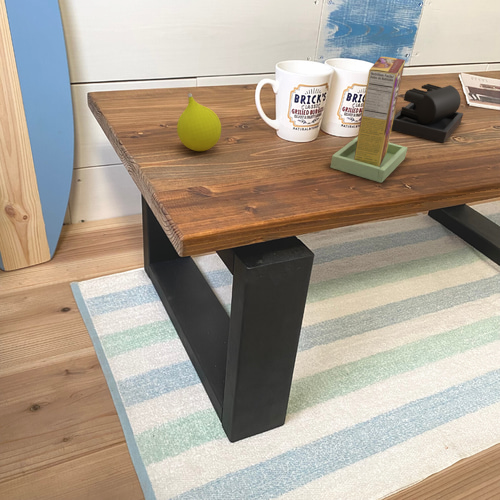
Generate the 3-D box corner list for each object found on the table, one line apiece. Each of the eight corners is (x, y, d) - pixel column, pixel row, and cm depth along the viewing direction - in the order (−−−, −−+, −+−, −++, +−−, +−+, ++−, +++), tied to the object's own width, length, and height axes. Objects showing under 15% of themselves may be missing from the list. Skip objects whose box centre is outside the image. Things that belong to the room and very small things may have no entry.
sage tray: (404, 158, 86) (407, 147, 85) (381, 183, 78) (384, 170, 77) (357, 145, 90) (359, 134, 89) (330, 167, 81) (332, 155, 80)
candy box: (361, 147, 88) (380, 55, 79) (386, 152, 86) (408, 59, 78) (350, 166, 81) (368, 67, 72) (377, 172, 79) (399, 72, 71)
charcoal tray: (460, 123, 103) (463, 113, 102) (443, 143, 94) (446, 132, 92) (409, 111, 108) (411, 101, 106) (387, 129, 98) (390, 118, 97)
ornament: (177, 140, 87) (176, 81, 81) (219, 141, 87) (221, 82, 82) (177, 158, 81) (175, 94, 75) (221, 158, 82) (223, 96, 76)
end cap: (429, 134, 95) (439, 98, 91) (397, 122, 99) (405, 88, 95) (454, 123, 101) (465, 89, 98) (423, 113, 105) (431, 79, 102)
